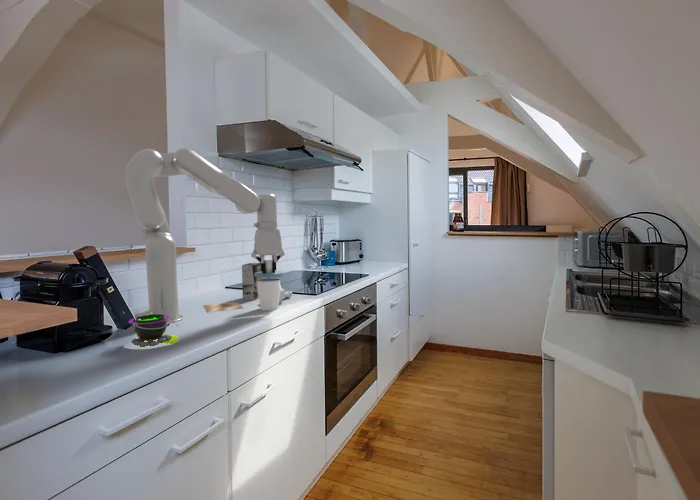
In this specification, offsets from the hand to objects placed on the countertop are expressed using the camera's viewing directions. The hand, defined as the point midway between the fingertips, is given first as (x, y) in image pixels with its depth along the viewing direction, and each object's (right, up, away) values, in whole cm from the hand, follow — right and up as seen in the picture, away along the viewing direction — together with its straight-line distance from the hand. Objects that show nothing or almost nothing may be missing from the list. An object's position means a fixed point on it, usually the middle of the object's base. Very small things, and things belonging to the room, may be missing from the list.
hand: (268, 272), depth 159 cm
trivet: (-19, -15, +5) cm, 25 cm away
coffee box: (-12, -14, +23) cm, 29 cm away
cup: (0, -15, +1) cm, 15 cm away
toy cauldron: (-27, -19, -39) cm, 51 cm away
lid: (0, -1, 0) cm, 1 cm away
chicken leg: (+1, -14, +18) cm, 23 cm away
